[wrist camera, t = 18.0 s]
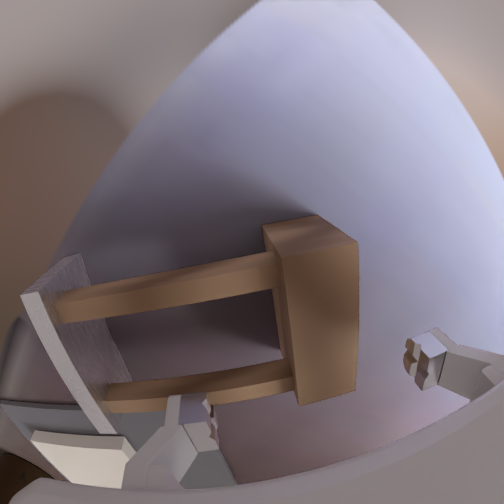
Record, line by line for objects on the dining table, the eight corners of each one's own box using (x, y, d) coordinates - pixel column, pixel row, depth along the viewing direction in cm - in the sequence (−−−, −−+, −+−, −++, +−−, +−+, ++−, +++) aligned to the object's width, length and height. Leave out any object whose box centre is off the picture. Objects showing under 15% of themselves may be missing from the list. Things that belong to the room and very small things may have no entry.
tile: (121, 449, 17) (30, 440, 17) (159, 493, 20) (74, 485, 19) (124, 434, 19) (35, 428, 18) (160, 480, 22) (77, 474, 21)
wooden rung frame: (316, 205, 16) (357, 229, 11) (326, 344, 19) (354, 396, 14) (64, 256, 15) (20, 295, 10) (117, 378, 18) (99, 433, 13)
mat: (197, 398, 19) (197, 404, 18) (236, 482, 23) (237, 487, 23) (0, 399, 18) (-2, 403, 17) (71, 479, 22) (70, 483, 22)
